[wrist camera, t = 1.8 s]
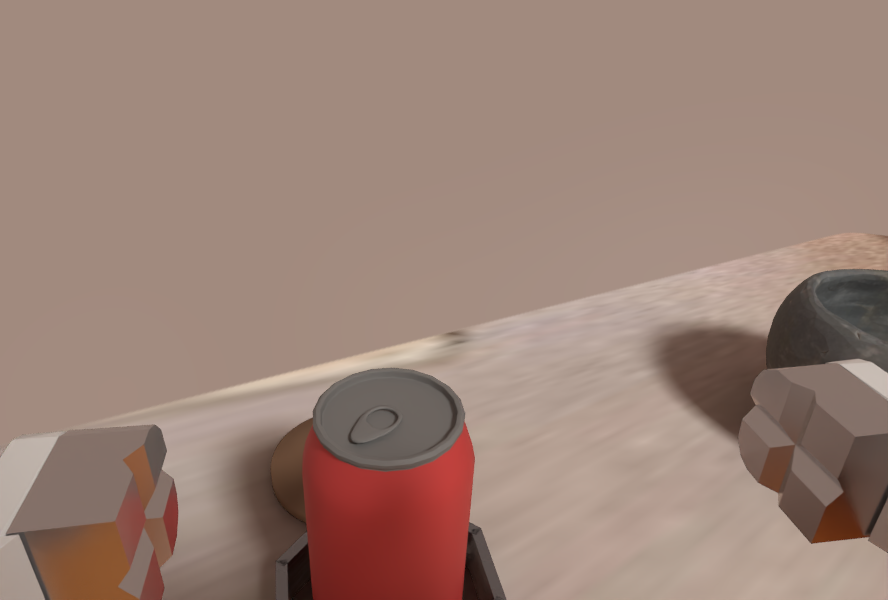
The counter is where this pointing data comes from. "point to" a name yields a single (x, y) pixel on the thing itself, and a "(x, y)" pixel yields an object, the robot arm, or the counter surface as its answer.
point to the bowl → (832, 320)
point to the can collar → (478, 560)
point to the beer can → (388, 488)
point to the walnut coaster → (291, 470)
